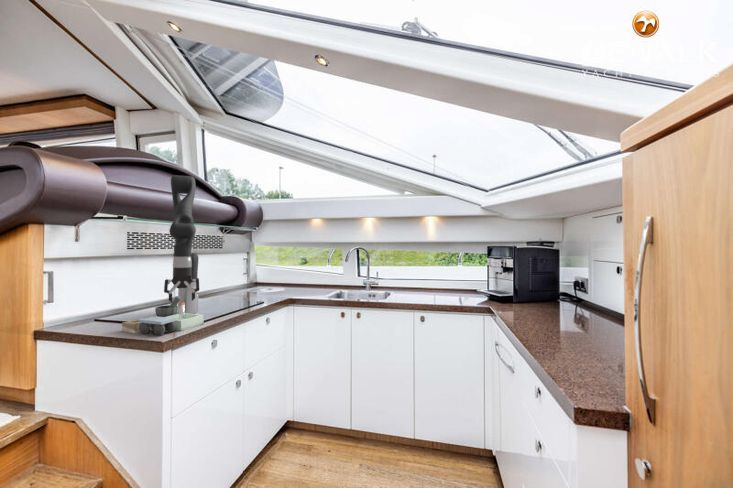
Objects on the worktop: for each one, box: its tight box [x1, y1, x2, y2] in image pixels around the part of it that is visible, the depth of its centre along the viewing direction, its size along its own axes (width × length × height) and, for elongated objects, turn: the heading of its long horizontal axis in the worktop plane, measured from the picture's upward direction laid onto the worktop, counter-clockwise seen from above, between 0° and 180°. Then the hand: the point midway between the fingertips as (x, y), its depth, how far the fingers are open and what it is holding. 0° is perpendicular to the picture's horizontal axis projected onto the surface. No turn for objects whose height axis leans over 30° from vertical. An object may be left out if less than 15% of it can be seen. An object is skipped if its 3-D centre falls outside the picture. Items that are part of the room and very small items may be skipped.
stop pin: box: [179, 302, 185, 320], centre depth 151 cm, size 2×2×10 cm
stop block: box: [121, 318, 150, 334], centre depth 142 cm, size 7×7×4 cm
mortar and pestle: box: [154, 295, 181, 317], centre depth 162 cm, size 11×9×12 cm
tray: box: [163, 313, 205, 332], centre depth 150 cm, size 13×13×4 cm
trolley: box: [139, 315, 176, 336], centre depth 139 cm, size 13×7×6 cm, turn 74°
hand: (182, 301), depth 151 cm, fingers open, 8 cm apart
